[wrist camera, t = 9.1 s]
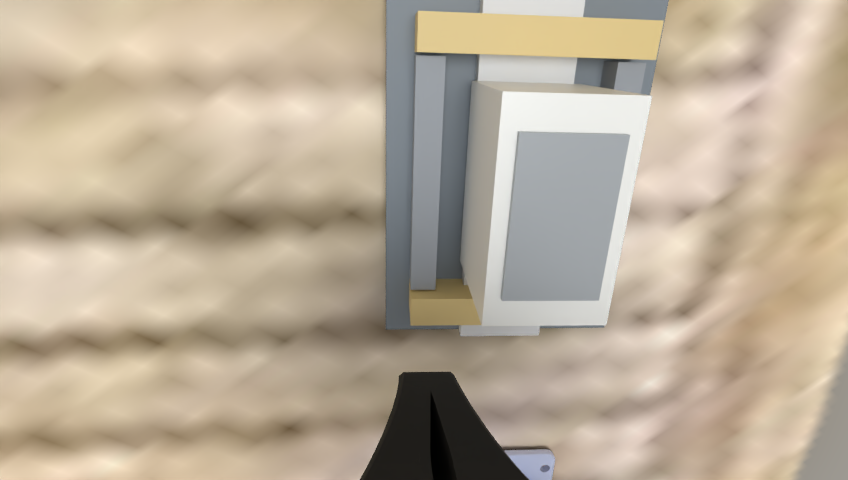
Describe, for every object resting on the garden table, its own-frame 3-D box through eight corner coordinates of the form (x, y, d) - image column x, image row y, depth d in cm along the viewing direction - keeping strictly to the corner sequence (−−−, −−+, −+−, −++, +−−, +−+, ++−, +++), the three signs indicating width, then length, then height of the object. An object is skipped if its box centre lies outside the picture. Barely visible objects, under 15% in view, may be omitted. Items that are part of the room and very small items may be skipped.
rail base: (595, 316, 23) (621, 350, 20) (386, 317, 22) (385, 353, 19) (656, -13, 18) (703, -24, 15) (386, -25, 17) (385, -39, 14)
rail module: (555, 261, 20) (608, 328, 15) (459, 260, 19) (483, 329, 15) (581, 84, 17) (656, 96, 12) (471, 80, 17) (504, 91, 12)
